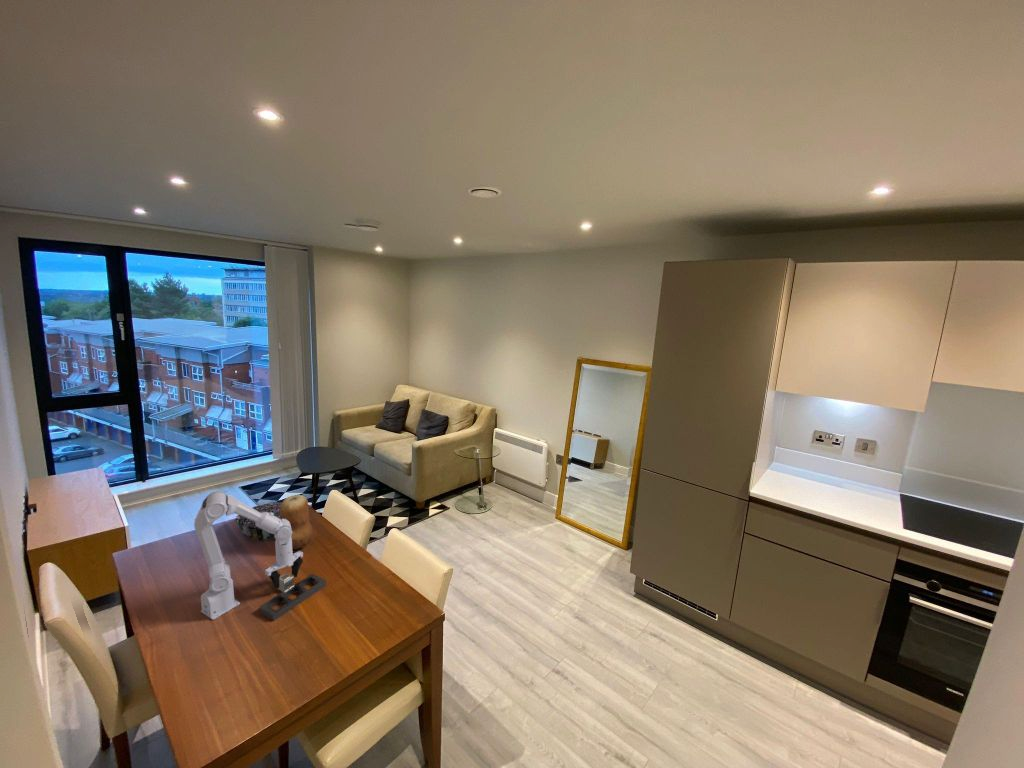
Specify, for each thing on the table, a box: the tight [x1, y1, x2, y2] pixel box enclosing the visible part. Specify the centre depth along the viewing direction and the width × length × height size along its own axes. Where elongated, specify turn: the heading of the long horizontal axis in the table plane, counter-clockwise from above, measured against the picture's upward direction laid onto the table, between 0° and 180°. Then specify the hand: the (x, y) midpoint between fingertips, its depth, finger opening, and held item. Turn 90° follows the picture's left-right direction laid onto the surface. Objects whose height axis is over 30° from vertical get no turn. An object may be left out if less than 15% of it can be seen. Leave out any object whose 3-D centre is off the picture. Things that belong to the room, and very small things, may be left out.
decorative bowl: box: [234, 502, 282, 542], centre depth 202 cm, size 26×28×10 cm
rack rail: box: [259, 573, 327, 622], centre depth 158 cm, size 22×8×2 cm, turn 153°
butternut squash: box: [280, 494, 314, 551], centre depth 188 cm, size 14×13×25 cm
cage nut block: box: [277, 572, 295, 593], centre depth 163 cm, size 4×4×5 cm
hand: (285, 581), depth 163 cm, fingers open, 7 cm apart
